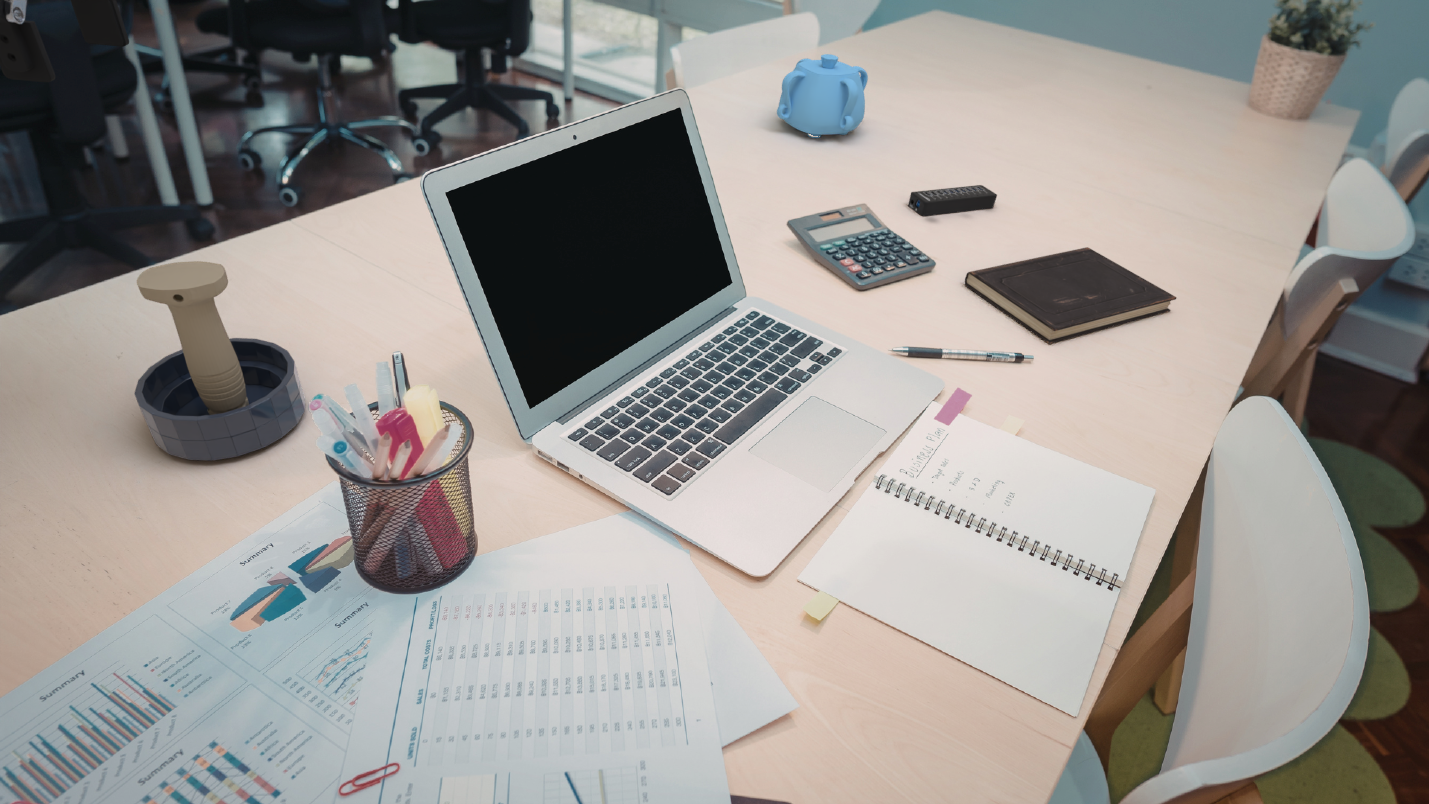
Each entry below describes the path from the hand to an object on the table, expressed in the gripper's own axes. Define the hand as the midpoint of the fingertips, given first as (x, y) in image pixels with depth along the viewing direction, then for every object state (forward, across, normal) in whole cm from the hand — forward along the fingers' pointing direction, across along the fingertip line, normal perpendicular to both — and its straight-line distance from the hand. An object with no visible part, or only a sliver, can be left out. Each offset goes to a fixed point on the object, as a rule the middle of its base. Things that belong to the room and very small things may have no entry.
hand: (72, 60), depth 62 cm
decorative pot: (+30, -91, +76) cm, 122 cm away
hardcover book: (+30, -29, +102) cm, 110 cm away
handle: (+31, +5, +6) cm, 32 cm away
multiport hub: (+30, -57, +93) cm, 113 cm away
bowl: (+31, +5, +6) cm, 32 cm away
